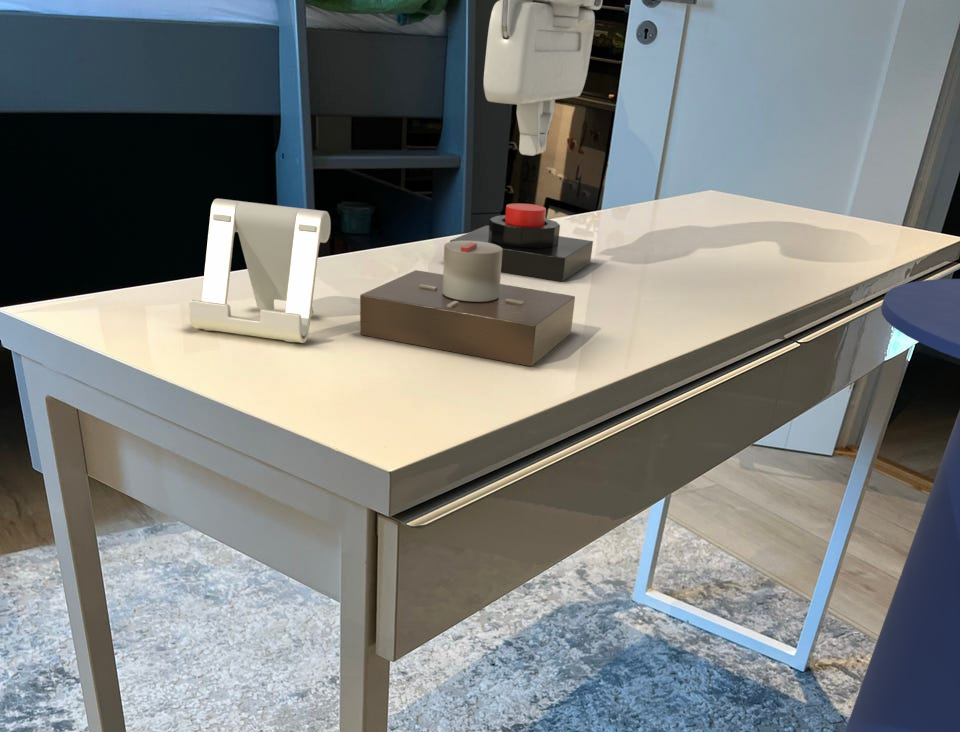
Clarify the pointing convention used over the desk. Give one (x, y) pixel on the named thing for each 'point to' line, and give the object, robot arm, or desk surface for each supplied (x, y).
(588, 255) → the button box
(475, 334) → the panel
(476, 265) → the dial
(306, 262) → the tablet stand
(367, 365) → the desk surface
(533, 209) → the button
